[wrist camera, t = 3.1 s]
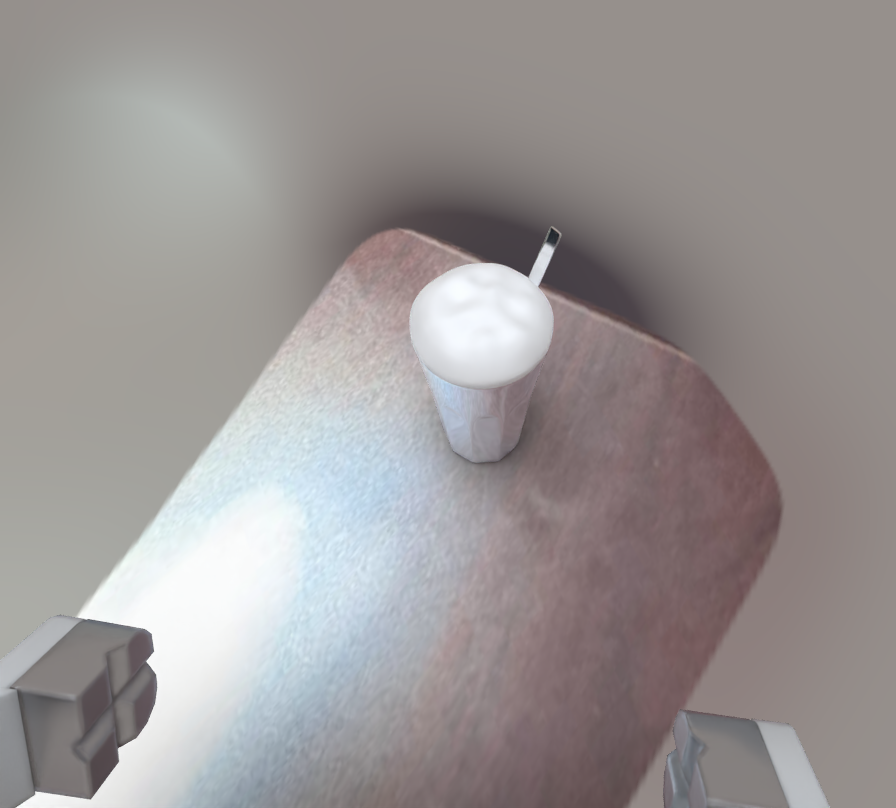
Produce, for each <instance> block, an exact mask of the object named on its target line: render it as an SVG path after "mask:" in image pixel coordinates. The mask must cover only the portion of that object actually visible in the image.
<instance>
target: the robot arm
mask: <svg viewBox="0 0 896 808" xmlns="http://www.w3.org/2000/svg"><path fill="white" fill-rule="evenodd" d="M153 652H154V648H153V641H152V634H151V633H150V632H148V631H147V630H145V629H141V628H136V627H130V626H124V625H118V624H113V623H107V622H101V621H96V620H90V619H88V620H85V619H81V618H75V617H69V616H64V615H57V616H54V617H51V618H49V619H47V620H46V621H45V622H44V623H43V624H42V625H41V626H39V627H38V628H37V629H36V630H35V631H34V632H32V633H31V634H30V635H29V636H28V637H27V638H25V639H24V640H23V641H22V642H21V643H20V644H19V645H17V646H16V647H15V648H14V649H13V650H12V651H10V652H9V653H8V654H7V655H6V656H5V657H4V658H3V659H1V660H0V808H15V807H17V806H19V805H20V804H22V803H23V802H25V801H26V800H28V799H29V798H31V797H32V796H34V795H35V791H37V792H44V793H51V794H58V795H64V796H71V797H78V798H85V799H91V798H92V797H93V796H94V794H95V793H96V792H97V790H98V789H99V788H100V786H101V785H102V784H103V782H104V781H105V780H106V778H107V777H108V776H109V774H110V773H111V772H112V770H113V769H114V768H115V766H116V765H117V764H118V762H119V757H118V748H119V747H121V746H123V745H125V744H126V743H128V742H130V741H132V740H134V739H135V738H137V736H138V735H139V734H140V732H141V731H142V729H143V728H144V726H145V725H146V724H147V722H148V719H149V717H150V714H151V712H152V709H153V707H154V704H155V700H156V692H157V680H156V674H155V673H154V671H153V670H152V669H151V667H150V666H149V665H148V664H147V662H146V661H147V659H148V658H149V657H150V656H151V654H152V653H153ZM673 735H674V739H675V744H676V749H675V750H674V751H672V752H671V753H670V754H668V755H667V761H666V766H665V772H664V788H663V796H664V797H663V798H664V808H831V807H830V805H829V803H828V801H827V798H826V796H825V794H824V792H823V790H822V788H821V785H820V783H819V781H818V779H817V777H816V775H815V772H814V770H813V768H812V766H811V764H810V762H809V760H808V757H807V755H806V753H805V751H804V749H803V747H802V744H801V742H800V740H799V738H798V736H797V734H796V731H795V729H794V728H792V726H790V725H789V724H788V723H781V722H773V721H765V720H757V719H751V720H749V719H744V718H737V717H729V716H723V715H716V714H709V713H702V712H695V711H688V710H681V709H680V710H679V712H678V714H677V716H676V719H675V723H674V727H673Z"/></svg>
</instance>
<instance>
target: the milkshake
mask: <svg viewBox="0 0 896 808" xmlns="http://www.w3.org/2000/svg"><path fill="white" fill-rule="evenodd" d="M560 238H561V233H560V232H559V231H558V230H557V229H555V228H554V227H553V226H552V227H551V228H550V230H549V232H548V234H547V236H546V238H545V241H544V243H543V245H542V248H541V250H540V252H539V254H538V257H537V259H536V261H535V264H534V266H533V268H532V271H531V273H530V275H529V277H528V278H527V277H526V276H524V275H523V274H521V273H519V272H517V271H515V270H513V269H511V268H509V267H506V266H504V265H500V264H494V263H477V264H468V265H463V266H460V267H456V268H454V269H452V270H450V271H448V272H446V273H444V274H443V275H441V276H439V277H438V278H436V279H434V280H433V281H431V282H430V283H429V284H427V285H426V286H425V287H424V288H423V289H422V290H421V292H420V293H419V294H418V296H417V297H416V299H415V301H414V303H413V305H412V308H411V313H410V336H411V341H412V345H413V348H414V350H415V353H416V355H417V358H418V360H419V363H420V365H421V368H422V370H423V373H424V375H425V378H426V380H427V383H428V385H429V387H430V390H431V393H432V396H433V399H434V402H435V405H436V408H437V411H438V415H439V418H440V421H441V424H442V427H443V430H444V432H445V434H446V437H447V439H448V441H449V444H450V446H451V448H452V451H453V452H455V453H457V454H459V455H460V456H462V457H464V458H466V459H467V460H469V461H471V462H473V463H481V462H494V461H499V460H500V459H502V458H503V457H504V456H505V455H506V454H508V453H509V452H510V451H511V450H513V449H514V448H515V447H516V446H517V444H518V441H519V437H520V434H521V430H522V427H523V423H524V419H525V416H526V412H527V409H528V405H529V402H530V399H531V396H532V393H533V390H534V387H535V385H536V382H537V379H538V377H539V374H540V371H541V368H542V365H543V363H544V360H545V357H546V354H547V351H548V349H549V346H550V343H551V339H552V334H553V325H554V318H553V312H552V308H551V305H550V303H549V301H548V299H547V298H546V296H545V295H544V293H543V292H542V291H541V290H540V289H539V288H538V287H539V284H540V282H541V280H542V278H543V276H544V273H545V271H546V269H547V267H548V265H549V262H550V260H551V258H552V256H553V254H554V251H555V249H556V247H557V245H558V243H559V240H560Z"/></svg>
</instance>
